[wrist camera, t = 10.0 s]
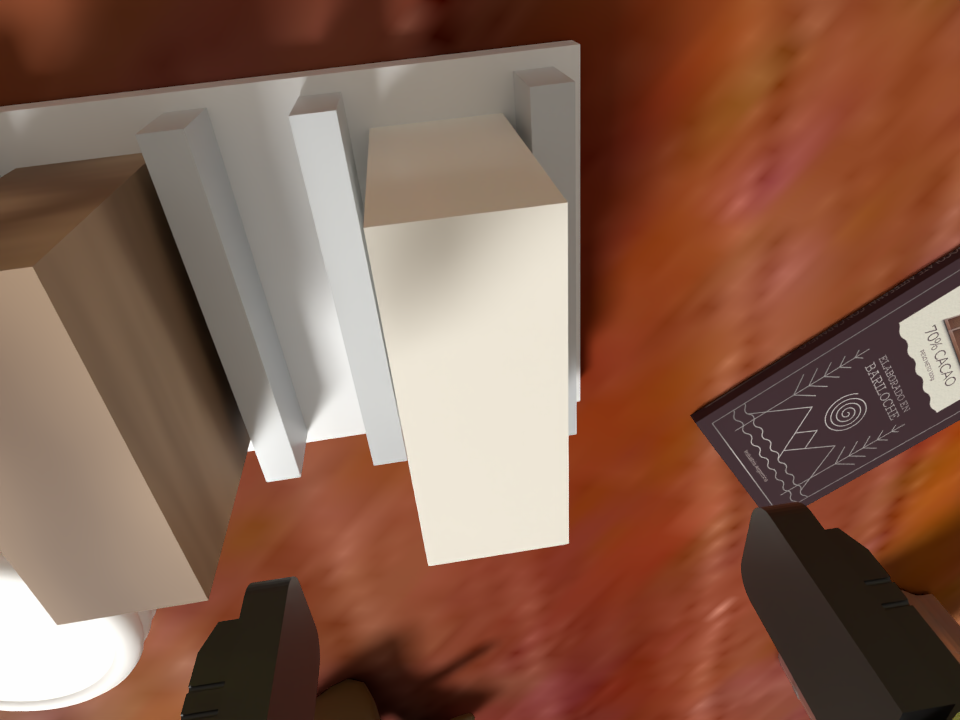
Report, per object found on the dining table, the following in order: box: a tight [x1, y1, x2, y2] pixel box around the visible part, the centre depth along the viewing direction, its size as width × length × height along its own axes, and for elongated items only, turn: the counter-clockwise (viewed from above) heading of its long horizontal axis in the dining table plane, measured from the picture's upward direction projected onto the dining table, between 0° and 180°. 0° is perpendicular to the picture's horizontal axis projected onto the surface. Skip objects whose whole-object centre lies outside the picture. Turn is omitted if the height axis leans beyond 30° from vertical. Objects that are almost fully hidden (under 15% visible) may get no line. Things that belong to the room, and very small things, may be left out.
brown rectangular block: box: [0, 153, 251, 625], centre depth 18 cm, size 4×10×8 cm, turn 5°
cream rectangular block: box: [363, 113, 569, 566], centre depth 18 cm, size 4×10×8 cm, turn 4°
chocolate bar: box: [690, 247, 960, 507], centre depth 28 cm, size 9×1×18 cm
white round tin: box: [0, 551, 157, 711], centre depth 27 cm, size 10×10×4 cm
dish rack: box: [0, 40, 580, 482], centre depth 21 cm, size 19×13×4 cm
